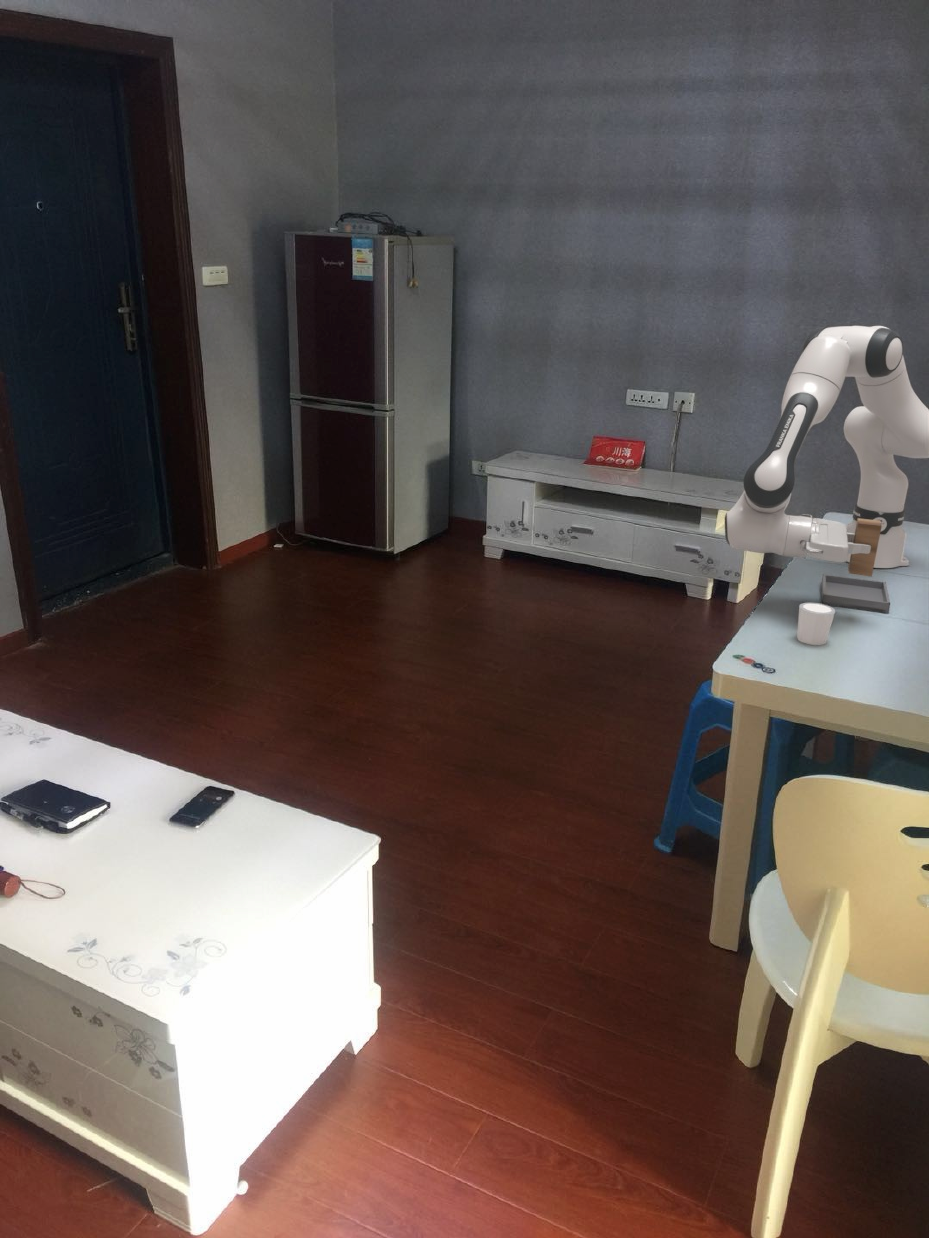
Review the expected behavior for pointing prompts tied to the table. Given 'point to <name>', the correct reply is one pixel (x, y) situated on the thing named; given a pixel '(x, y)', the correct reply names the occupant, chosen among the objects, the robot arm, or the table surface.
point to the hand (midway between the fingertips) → (869, 545)
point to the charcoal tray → (855, 593)
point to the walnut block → (866, 534)
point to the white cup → (814, 623)
